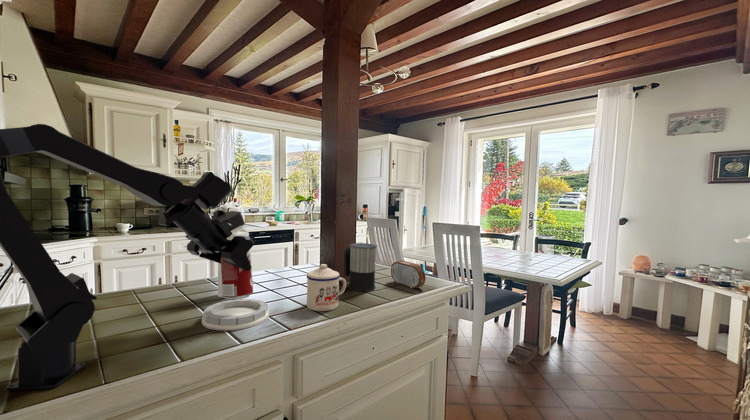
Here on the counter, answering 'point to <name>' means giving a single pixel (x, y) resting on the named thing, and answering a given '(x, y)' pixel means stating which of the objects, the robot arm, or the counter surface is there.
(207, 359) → the counter surface
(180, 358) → the counter surface
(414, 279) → the tin
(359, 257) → the milk frother
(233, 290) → the soda can
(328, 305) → the teacup with lid
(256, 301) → the ring tray
